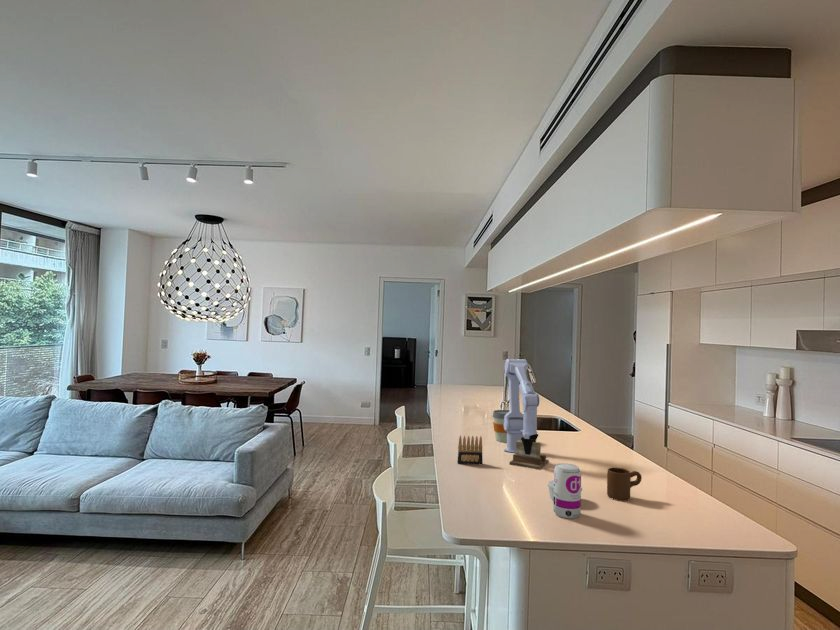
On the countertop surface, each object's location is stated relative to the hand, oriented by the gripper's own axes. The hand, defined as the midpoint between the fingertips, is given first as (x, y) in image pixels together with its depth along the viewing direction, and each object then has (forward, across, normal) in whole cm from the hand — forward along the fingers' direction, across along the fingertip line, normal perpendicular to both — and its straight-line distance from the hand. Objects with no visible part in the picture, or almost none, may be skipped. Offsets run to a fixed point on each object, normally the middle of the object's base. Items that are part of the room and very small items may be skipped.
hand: (529, 452), depth 212 cm
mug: (+5, +28, +39) cm, 48 cm away
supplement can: (+5, +54, +22) cm, 59 cm away
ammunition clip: (+5, +13, -23) cm, 27 cm away
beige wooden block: (+4, 0, 0) cm, 4 cm away
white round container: (+5, +41, +20) cm, 46 cm away
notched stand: (+5, 0, 0) cm, 5 cm away
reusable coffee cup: (+5, -38, -20) cm, 43 cm away
